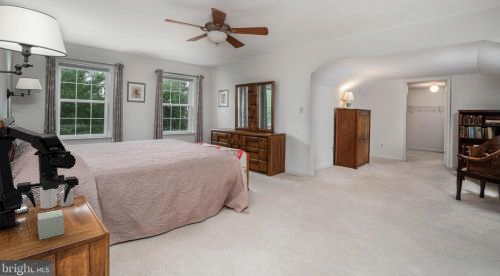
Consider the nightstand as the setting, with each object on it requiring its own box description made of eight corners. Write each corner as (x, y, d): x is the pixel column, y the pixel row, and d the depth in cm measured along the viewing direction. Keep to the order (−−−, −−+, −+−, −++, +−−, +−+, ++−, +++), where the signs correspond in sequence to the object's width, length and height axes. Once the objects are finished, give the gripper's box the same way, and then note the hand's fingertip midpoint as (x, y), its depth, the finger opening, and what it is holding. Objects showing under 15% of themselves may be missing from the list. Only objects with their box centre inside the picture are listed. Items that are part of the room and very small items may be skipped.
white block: (38, 232, 101) (37, 214, 101) (61, 227, 107) (61, 209, 106) (39, 239, 96) (38, 220, 95) (64, 233, 101) (63, 215, 100)
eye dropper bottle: (60, 205, 130) (59, 182, 129) (73, 202, 134) (72, 181, 133) (61, 207, 127) (60, 184, 126) (74, 205, 131) (73, 182, 130)
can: (47, 209, 124) (46, 186, 123) (37, 208, 125) (36, 185, 124) (60, 205, 130) (59, 182, 129) (49, 203, 131) (48, 181, 130)
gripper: (15, 174, 86) (18, 217, 87) (80, 167, 98) (81, 205, 100) (15, 168, 94) (18, 208, 95) (75, 162, 107) (77, 198, 108)
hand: (50, 205), depth 99 cm, fingers open, 9 cm apart
